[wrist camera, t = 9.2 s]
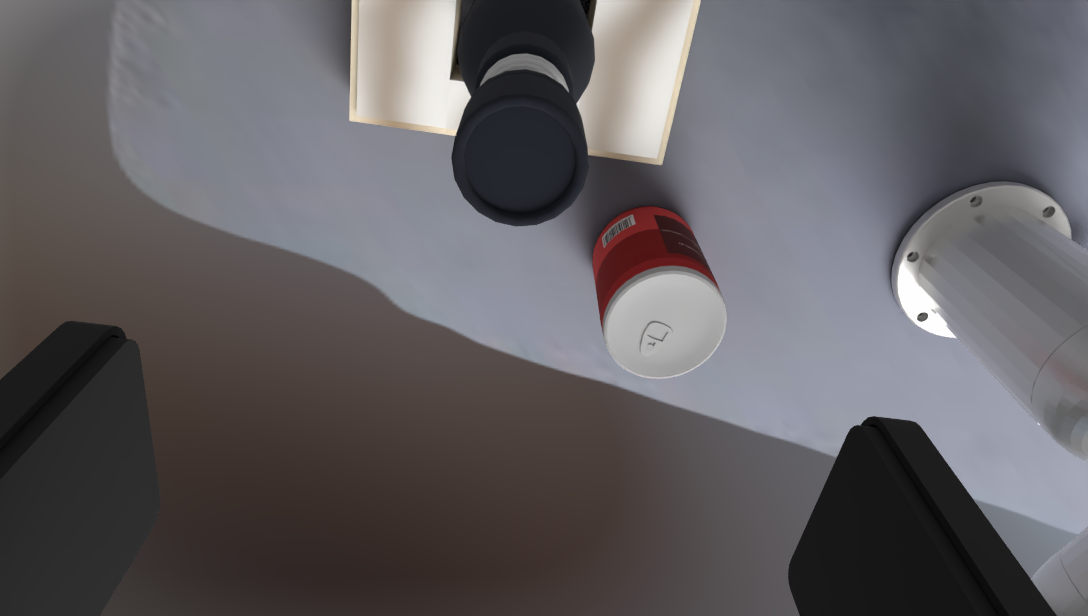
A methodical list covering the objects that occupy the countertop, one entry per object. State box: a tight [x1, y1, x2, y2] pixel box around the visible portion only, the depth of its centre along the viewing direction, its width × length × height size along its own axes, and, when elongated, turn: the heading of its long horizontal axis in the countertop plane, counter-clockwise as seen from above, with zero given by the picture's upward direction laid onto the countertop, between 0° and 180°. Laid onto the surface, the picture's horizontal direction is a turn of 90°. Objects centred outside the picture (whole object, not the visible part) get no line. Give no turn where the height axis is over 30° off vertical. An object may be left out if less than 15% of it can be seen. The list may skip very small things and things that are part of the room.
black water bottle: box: [451, 0, 595, 226], centre depth 34 cm, size 6×6×30 cm
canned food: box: [593, 206, 727, 379], centre depth 50 cm, size 8×8×11 cm
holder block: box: [350, 0, 701, 165], centre depth 45 cm, size 20×15×4 cm
